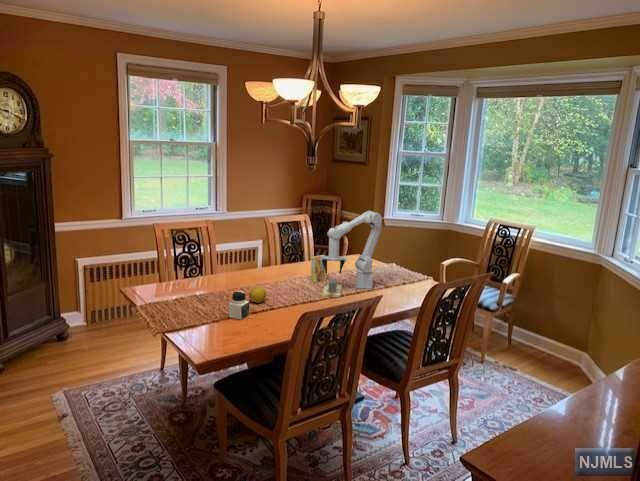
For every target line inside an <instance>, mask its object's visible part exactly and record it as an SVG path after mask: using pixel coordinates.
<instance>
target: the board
mask: <svg viewBox="0 0 640 481" xmlns="http://www.w3.org/2000/svg"><path fill="white" fill-rule="evenodd" d="M342 287H343V284H342V283H341V284H340V283H336V294H335V293H328V292H329V283H324V286H323V291H322V297H332V298H334V297H335V298H341V297H342V290H343V289H342Z"/></svg>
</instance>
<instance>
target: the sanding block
mask: <svg viewBox="0 0 640 481" xmlns="http://www.w3.org/2000/svg"><path fill="white" fill-rule="evenodd" d="M337 281H338V280H337V279H336V278H329V279H328V284H329V292H328V293H335V294H336V284H337Z"/></svg>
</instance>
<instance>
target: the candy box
mask: <svg viewBox="0 0 640 481" xmlns="http://www.w3.org/2000/svg"><path fill="white" fill-rule="evenodd" d="M321 256H326V255H324V254H320V255H316V256H311V264H310V265H311V268H310V269H311V270H310V281H311V282H312V283H315V284H316V282H317V283H320V282H325V281H327V273H326V271H325V267H324V265H323V261H321Z"/></svg>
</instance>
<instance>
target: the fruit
mask: <svg viewBox="0 0 640 481" xmlns="http://www.w3.org/2000/svg"><path fill="white" fill-rule="evenodd" d="M248 294H249V295H248V298H249V299H250V301H251V302H253V303H256V304H260V303H262V302H264V301H265V299H266V298H267V291H266V289H265V288H263V287H262V286H254V287H253V288H252V289H250V291H249V293H248Z"/></svg>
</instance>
